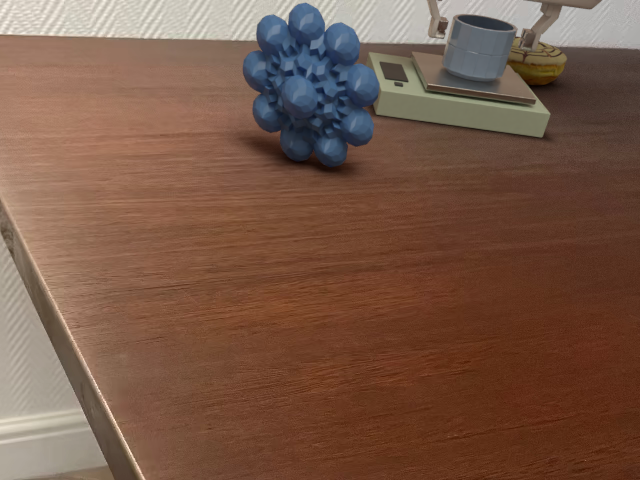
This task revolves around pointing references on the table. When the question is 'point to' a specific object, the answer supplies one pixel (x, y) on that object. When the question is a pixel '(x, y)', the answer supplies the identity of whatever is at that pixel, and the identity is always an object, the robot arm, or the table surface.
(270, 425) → the table surface
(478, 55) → the cup
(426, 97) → the scale
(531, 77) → the decorated donut
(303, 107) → the blue knobbed flower
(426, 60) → the scale pan
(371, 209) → the table surface
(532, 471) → the table surface
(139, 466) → the table surface
